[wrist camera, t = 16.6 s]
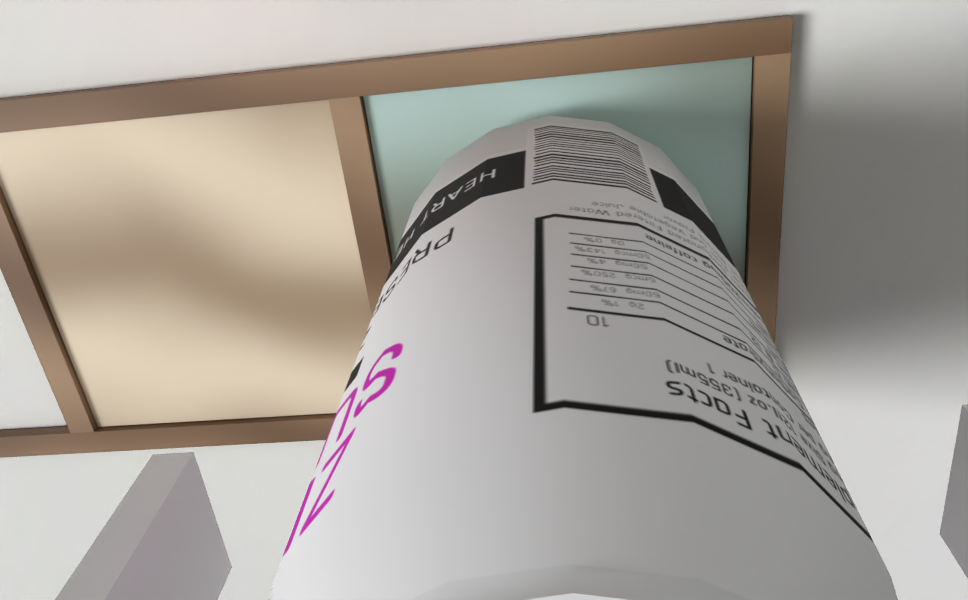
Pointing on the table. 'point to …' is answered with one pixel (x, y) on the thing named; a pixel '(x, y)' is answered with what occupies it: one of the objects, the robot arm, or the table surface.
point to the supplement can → (572, 403)
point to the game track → (321, 213)
